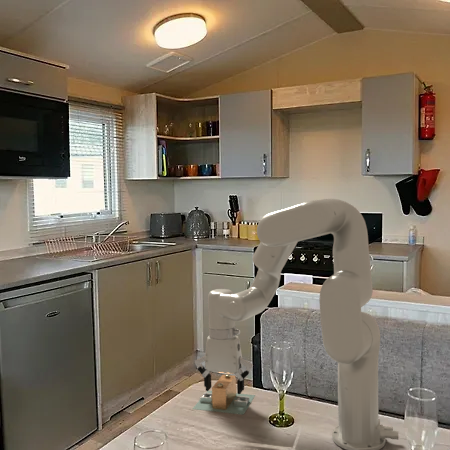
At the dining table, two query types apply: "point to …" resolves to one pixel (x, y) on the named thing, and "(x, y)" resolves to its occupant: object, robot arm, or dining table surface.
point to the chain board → (230, 409)
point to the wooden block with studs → (224, 392)
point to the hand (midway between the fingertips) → (224, 390)
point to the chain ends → (239, 402)
